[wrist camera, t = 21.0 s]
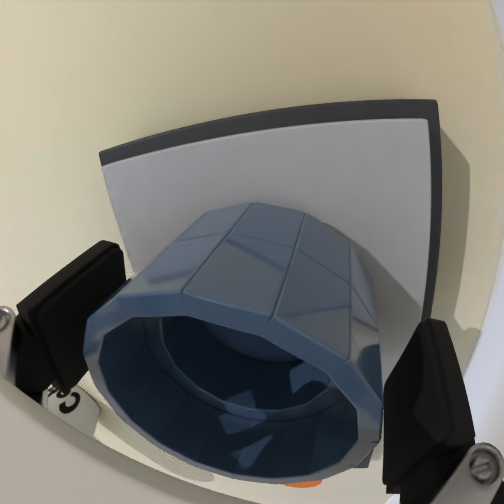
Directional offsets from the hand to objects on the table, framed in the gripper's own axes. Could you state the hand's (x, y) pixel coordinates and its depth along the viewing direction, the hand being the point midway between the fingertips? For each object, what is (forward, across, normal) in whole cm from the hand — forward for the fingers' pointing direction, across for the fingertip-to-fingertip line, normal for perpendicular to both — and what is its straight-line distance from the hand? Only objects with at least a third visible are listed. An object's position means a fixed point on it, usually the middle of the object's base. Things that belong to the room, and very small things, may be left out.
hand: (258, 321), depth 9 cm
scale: (+4, 0, 0) cm, 4 cm away
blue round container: (+1, 0, 0) cm, 2 cm away
